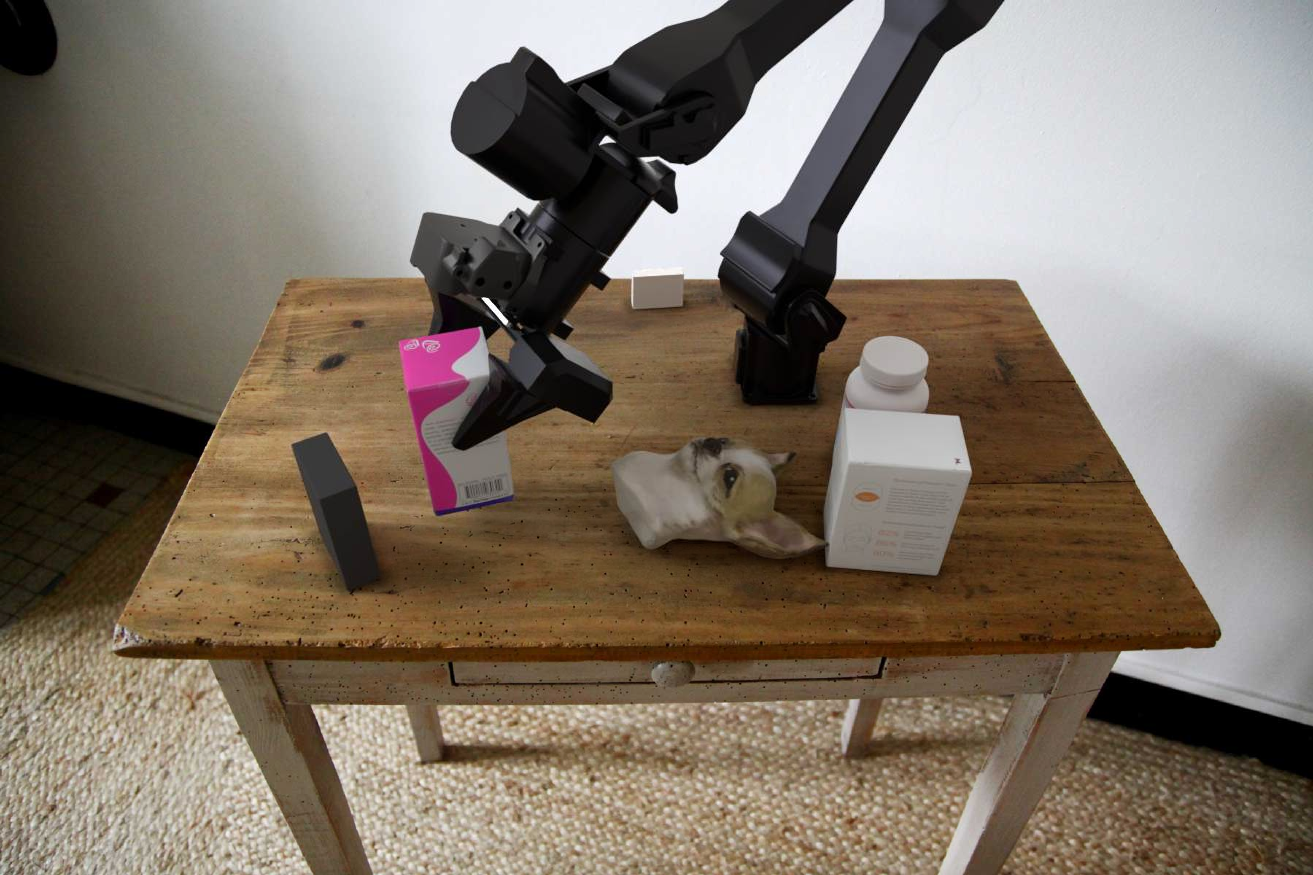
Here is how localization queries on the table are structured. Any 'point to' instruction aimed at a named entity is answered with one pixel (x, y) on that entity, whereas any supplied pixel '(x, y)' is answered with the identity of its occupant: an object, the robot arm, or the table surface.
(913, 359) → the pill bottle
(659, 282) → the eraser
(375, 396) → the table surface
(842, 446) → the small box
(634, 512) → the ceramic sculpture
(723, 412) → the table surface
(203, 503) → the table surface
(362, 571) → the black rubber pad
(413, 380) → the supplement box
